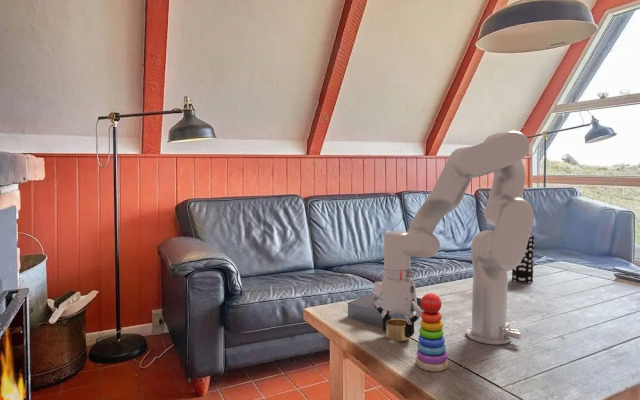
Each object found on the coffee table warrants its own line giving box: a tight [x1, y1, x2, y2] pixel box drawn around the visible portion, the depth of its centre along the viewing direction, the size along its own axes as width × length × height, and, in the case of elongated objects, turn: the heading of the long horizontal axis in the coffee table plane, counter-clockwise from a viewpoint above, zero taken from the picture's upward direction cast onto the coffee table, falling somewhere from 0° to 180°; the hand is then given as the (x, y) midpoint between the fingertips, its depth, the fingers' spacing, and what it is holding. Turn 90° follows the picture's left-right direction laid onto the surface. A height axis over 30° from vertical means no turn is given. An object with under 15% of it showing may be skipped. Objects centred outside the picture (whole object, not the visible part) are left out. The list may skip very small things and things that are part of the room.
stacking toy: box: [415, 292, 449, 372], centre depth 110 cm, size 8×8×19 cm
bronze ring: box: [385, 319, 411, 342], centre depth 127 cm, size 7×7×4 cm
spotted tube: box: [511, 234, 535, 284], centre depth 189 cm, size 8×8×20 cm
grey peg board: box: [347, 281, 406, 328], centre depth 144 cm, size 18×12×12 cm, turn 48°
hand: (398, 332), depth 128 cm, fingers closed on bronze ring, 7 cm apart
